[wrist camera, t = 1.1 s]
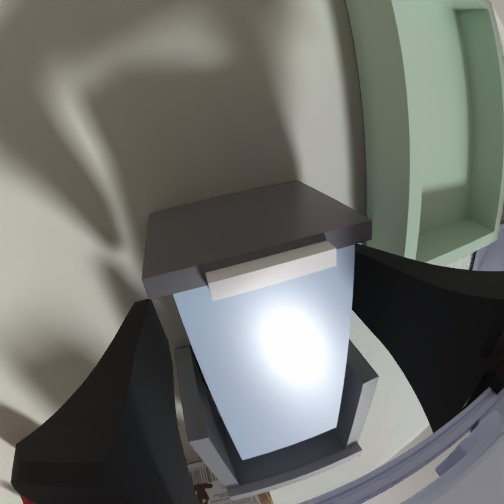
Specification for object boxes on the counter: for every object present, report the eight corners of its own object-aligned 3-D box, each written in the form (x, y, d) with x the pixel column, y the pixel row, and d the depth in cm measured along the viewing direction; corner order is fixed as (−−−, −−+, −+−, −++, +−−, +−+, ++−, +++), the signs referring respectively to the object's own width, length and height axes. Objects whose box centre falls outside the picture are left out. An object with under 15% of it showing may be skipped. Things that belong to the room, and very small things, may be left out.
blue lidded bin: (297, 180, 12) (383, 226, 7) (307, 359, 17) (350, 429, 12) (150, 213, 11) (140, 290, 6) (210, 389, 16) (233, 471, 11)
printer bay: (322, 306, 16) (386, 385, 10) (320, 390, 19) (359, 455, 14) (174, 349, 14) (190, 454, 9) (211, 425, 18) (232, 500, 12)
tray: (456, 5, 10) (490, 2, 7) (465, 223, 17) (497, 240, 14) (335, -38, 8) (372, -60, 5) (365, 258, 15) (400, 286, 12)
